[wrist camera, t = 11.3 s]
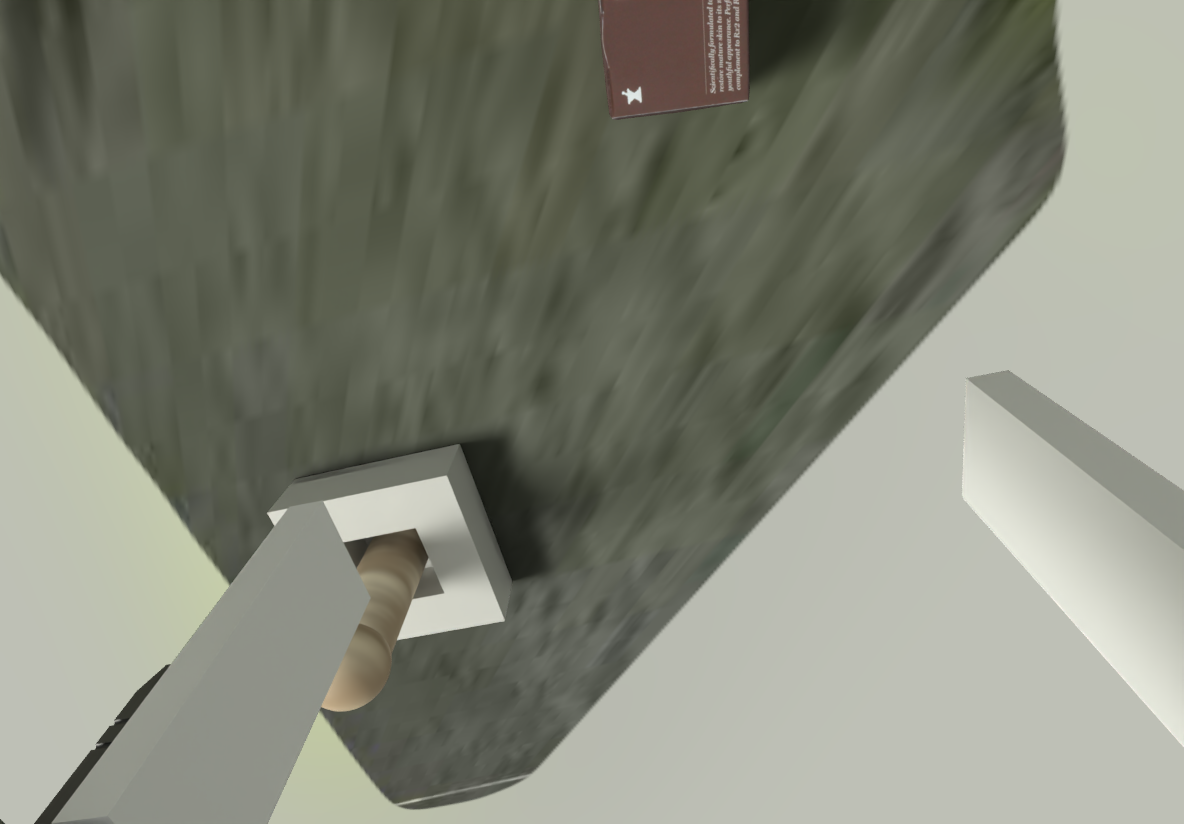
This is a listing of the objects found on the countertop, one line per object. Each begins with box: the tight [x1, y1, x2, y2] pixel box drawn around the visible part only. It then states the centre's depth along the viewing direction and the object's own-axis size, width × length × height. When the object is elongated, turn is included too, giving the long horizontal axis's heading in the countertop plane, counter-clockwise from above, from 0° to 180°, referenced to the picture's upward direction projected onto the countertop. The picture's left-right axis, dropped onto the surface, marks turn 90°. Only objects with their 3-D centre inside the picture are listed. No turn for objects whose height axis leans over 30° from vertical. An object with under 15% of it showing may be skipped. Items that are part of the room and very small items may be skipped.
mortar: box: [268, 444, 512, 640], centre depth 44 cm, size 12×12×4 cm
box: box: [598, 0, 750, 120], centre depth 29 cm, size 6×6×7 cm
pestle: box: [321, 528, 429, 711], centre depth 39 cm, size 5×5×14 cm
